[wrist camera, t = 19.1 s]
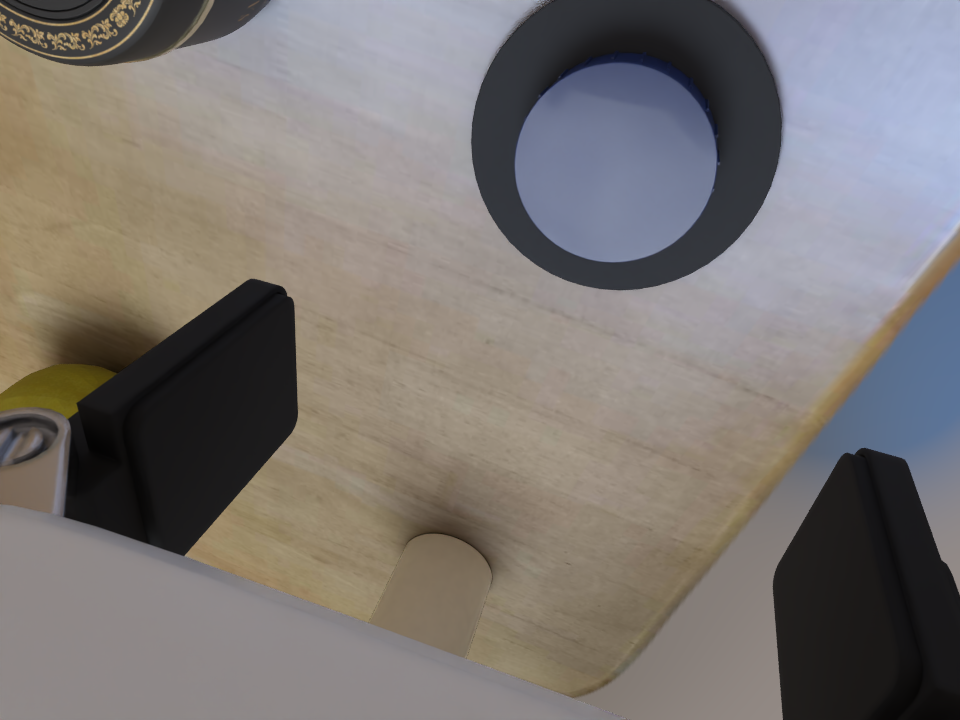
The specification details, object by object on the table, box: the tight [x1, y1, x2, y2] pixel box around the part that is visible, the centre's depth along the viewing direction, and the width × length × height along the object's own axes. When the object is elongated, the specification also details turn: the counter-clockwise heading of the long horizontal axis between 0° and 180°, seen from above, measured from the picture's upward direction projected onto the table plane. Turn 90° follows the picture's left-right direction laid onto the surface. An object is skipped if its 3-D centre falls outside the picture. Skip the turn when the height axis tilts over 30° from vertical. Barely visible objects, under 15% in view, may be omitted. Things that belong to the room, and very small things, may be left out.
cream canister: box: [368, 534, 492, 659], centre depth 36 cm, size 6×6×11 cm
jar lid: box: [514, 51, 720, 263], centre depth 23 cm, size 7×7×2 cm
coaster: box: [471, 0, 782, 290], centre depth 24 cm, size 11×11×1 cm
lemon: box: [0, 364, 117, 419], centre depth 37 cm, size 11×8×8 cm
